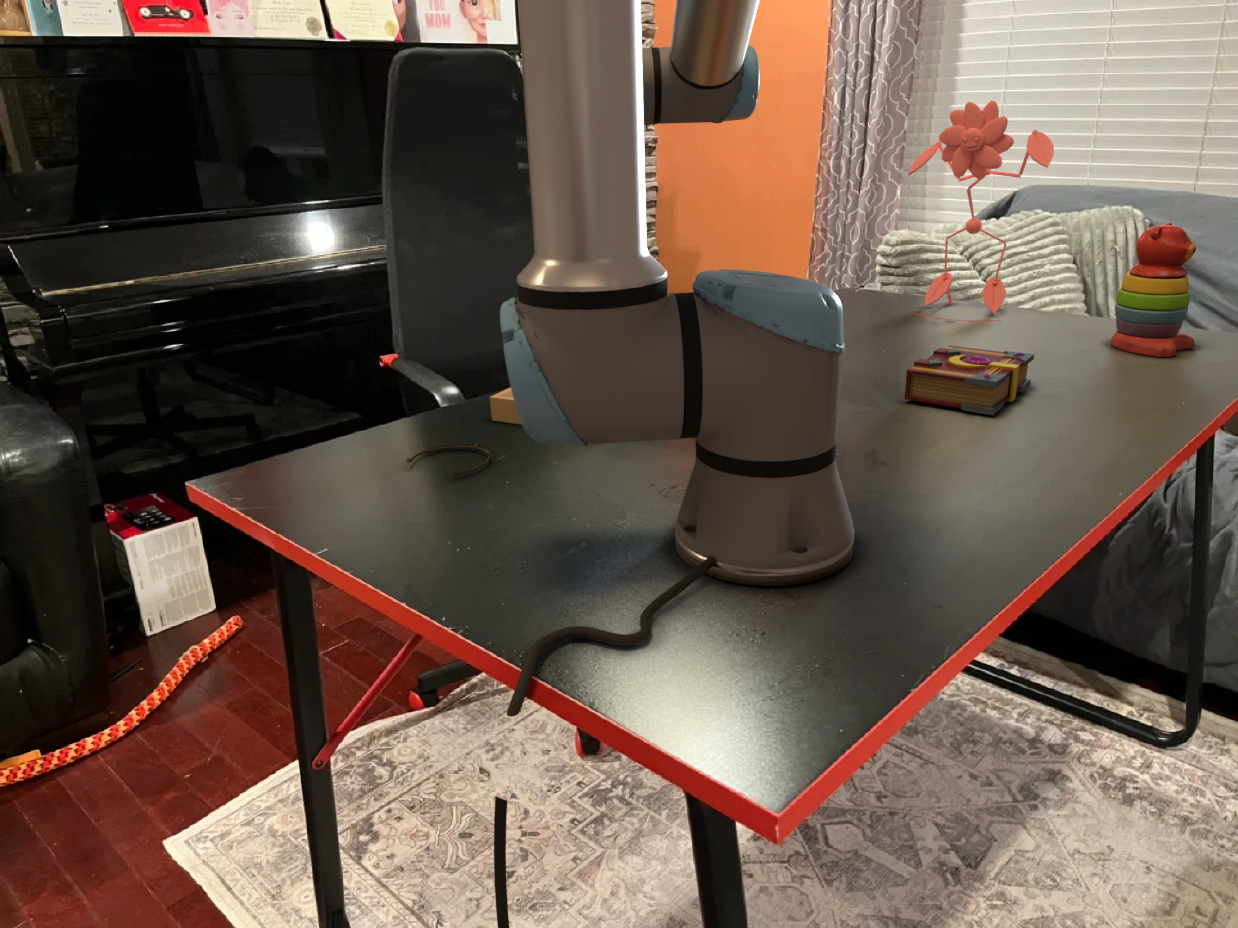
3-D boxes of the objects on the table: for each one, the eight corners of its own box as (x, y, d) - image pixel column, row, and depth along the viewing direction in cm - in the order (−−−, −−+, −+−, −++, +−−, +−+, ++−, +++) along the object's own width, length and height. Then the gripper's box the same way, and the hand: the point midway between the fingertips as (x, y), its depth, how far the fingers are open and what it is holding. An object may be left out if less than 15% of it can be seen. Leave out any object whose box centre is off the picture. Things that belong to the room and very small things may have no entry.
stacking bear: (1167, 359, 129) (1191, 231, 123) (1095, 347, 136) (1114, 225, 130) (1198, 346, 135) (1223, 223, 129) (1127, 335, 143) (1147, 218, 136)
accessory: (513, 452, 103) (512, 444, 102) (461, 479, 95) (460, 470, 95) (452, 441, 107) (451, 433, 107) (399, 466, 100) (398, 458, 99)
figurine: (912, 297, 176) (928, 102, 163) (1046, 315, 158) (1076, 97, 145) (867, 310, 166) (880, 104, 153) (1004, 330, 148) (1032, 99, 135)
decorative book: (901, 402, 115) (904, 364, 113) (947, 373, 126) (951, 338, 125) (993, 418, 108) (998, 377, 106) (1033, 385, 120) (1038, 348, 118)
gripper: (567, 185, 99) (578, 388, 107) (650, 171, 115) (654, 348, 124) (510, 185, 102) (525, 381, 111) (598, 171, 119) (605, 343, 127)
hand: (593, 364), depth 117 cm, fingers closed on poké ball, 7 cm apart
